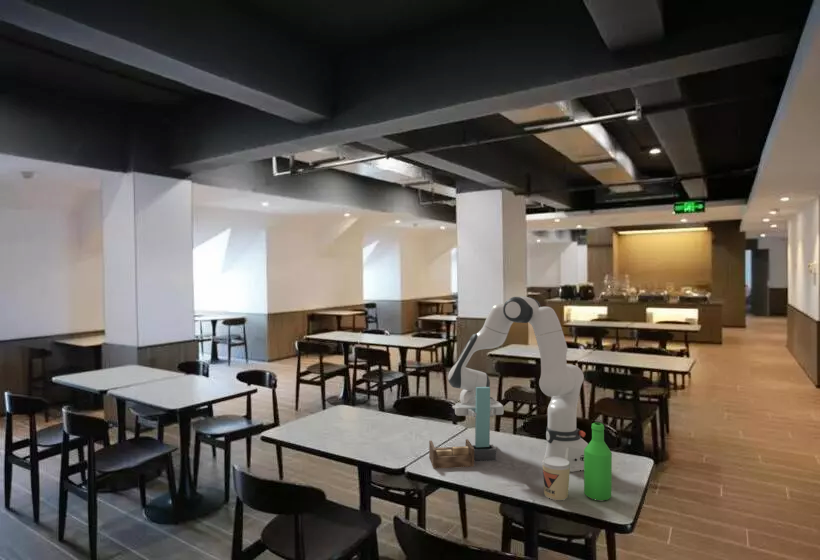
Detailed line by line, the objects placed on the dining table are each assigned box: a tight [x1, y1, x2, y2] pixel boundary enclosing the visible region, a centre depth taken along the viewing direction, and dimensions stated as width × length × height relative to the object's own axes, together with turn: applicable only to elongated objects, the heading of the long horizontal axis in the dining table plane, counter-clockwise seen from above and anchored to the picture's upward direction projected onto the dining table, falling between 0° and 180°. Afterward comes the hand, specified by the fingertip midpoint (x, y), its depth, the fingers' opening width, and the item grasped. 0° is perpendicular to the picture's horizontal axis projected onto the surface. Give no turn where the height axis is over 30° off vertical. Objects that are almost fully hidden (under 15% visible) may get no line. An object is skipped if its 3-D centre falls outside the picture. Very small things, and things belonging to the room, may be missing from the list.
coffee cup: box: [541, 456, 571, 501], centre depth 169 cm, size 9×9×12 cm
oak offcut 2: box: [452, 445, 468, 455], centre depth 193 cm, size 6×2×6 cm, turn 96°
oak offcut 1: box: [436, 449, 452, 456], centre depth 193 cm, size 6×2×6 cm, turn 96°
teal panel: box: [474, 386, 491, 447], centre depth 199 cm, size 6×2×24 cm, turn 96°
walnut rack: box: [428, 438, 475, 470], centre depth 195 cm, size 16×11×8 cm
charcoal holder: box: [471, 444, 497, 463], centre depth 199 cm, size 10×6×6 cm, turn 96°
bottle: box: [583, 422, 613, 501], centre depth 168 cm, size 9×9×25 cm
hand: (483, 414), depth 198 cm, fingers closed on teal panel, 5 cm apart
